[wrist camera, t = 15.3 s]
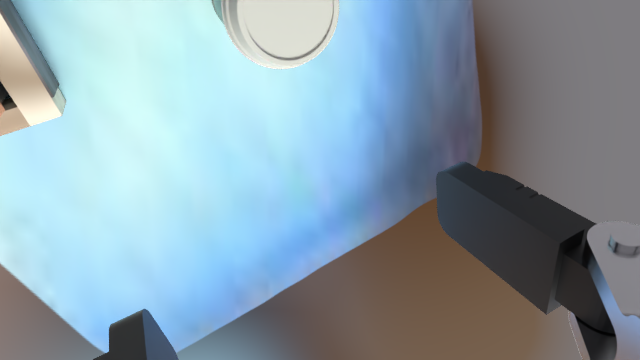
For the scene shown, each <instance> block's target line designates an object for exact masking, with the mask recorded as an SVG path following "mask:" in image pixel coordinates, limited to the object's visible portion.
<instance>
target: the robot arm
mask: <svg viewBox="0 0 640 360" xmlns="http://www.w3.org/2000/svg"><path fill="white" fill-rule="evenodd" d="M436 186H437V210H438V219H439V222H440V224H441V226H442V228H443V230H444V231H445V232H446V233H447V234H448V235H449V236H450V237H451V238H452V239H454V240H455V241H456V242H457V243H459V244H460V245H461V246H462V247H463V248H465V249H466V250H467V251H468V252H470V253H471V254H472V255H473V256H474V257H476V258H477V259H478V260H480V261H481V262H482V263H483V264H484V265H486V266H487V267H488V268H489V269H491V270H492V271H493V272H494V273H496V274H497V275H498V276H499V277H500V278H502V279H503V280H504V281H505V282H507V283H508V284H509V285H510V286H512V287H513V288H514V289H515V290H516V291H518V292H519V293H520V294H521V295H523V296H524V297H525V298H527V299H528V300H529V301H530V302H531V303H533V304H534V305H535V306H536V307H537V308H539V309H540V310H541V311H543V312H544V313H545V314H546V315H547V314H548V313H550V312H551V311H553V310H555V309H556V308H558V307H559V306H561V305H563V306H564V307H565V308H567V309H568V310H569V314H568V318H569V322H570V325H571V328H572V331H573V334H574V337H575V340H576V343H577V346H578V349H579V352H580V355H581V358H582V360H640V226H639V225H636V224H632V223H627V222H621V221H607V222H602V223H599V224H596V223H594V222H592V221H590V220H588V219H586V218H584V217H582V216H581V215H578V214H577V213H575V212H573V211H571V210H569V209H567V208H566V207H564V206H562V205H560V204H558V203H556V202H554V201H553V200H551V199H549V198H547V197H545V196H543V195H539V194H538V192H536V191H534V190H532V189H531V188H529V187H524V185H523V184H521V183H519V182H518V181H516V180H514V179H512V178H510V177H508V176H506V175H502V174H498V173H494V172H491V171H484V172H483V171H481V170H480V169H478V168H476V167H475V166H473V165H471V164H469V163H467V162H460V163H458V164H456V165H454V166H451V167H449V168H447V169H445V170H443V171H441V172H439V173H438V174H437V177H436ZM93 360H178V357H177V355H176V352H175V350H174V349H173V347H172V345H171V344H170V342H169V341H168V339H167V338H166V336H165V335H164V333H163V332H162V330H161V329H160V327H159V326H158V324H157V323H156V321H155V320H154V318H153V317H152V315H151V314H150V313H149V311H148V310H146V309H143V310H141V311H139V312H136V313H134V314H132V315H130V316H128V317H126V318H124V319H121V320H119V321H117V322H115V323H113V324H111V325H110V328H109V352H107V353H105V354H103V355H101V356H99V357H97V358H95V359H93Z"/></svg>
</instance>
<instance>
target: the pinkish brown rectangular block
mask: <svg viewBox="0 0 640 360" xmlns="http://www.w3.org/2000/svg"><path fill="white" fill-rule="evenodd" d="M8 94H9V93H8V92H7V90H6V89H5V87H4V86H3V84H2V83H1V81H0V117H1V115H2V114H3V112H4V111H5V109H4V107H3V106H2V104H1V103H2V102H3V101H4V99H5V98H6V97H7V95H8Z"/></svg>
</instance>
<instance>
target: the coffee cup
mask: <svg viewBox="0 0 640 360" xmlns="http://www.w3.org/2000/svg"><path fill="white" fill-rule="evenodd" d="M212 3H213V7H214V9H215V12H216V14H217V15H218V17H219V18H220V20H221V21H222V22H223V24H224V25H225V28H226V30H227V33H228V35H229V37H230V39H231V40H232V42H233V43H234V45H235V46H236V48H237V49H238V50H239V51H240V52H241V53H242V54H243V55H244V56H245V57H247V58H248V59H249V60H251V61H252V62H254V63H256V64H258V65H261V66H264V67H267V68H273V69H289V68H294V67H297V66H300V65H302V64H304V63H306V62H308V61H310V60H312V59H313V58H315V57H316V56H317V55H319V54H320V53H321V52H322V51H323V50H324V48H325V47H326V46H327V45H328V43H329V41H330V40H331V38H332V36H333V34H334V32H335V29H336V26H337V22H338V16H339V0H212Z"/></svg>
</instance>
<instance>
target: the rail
mask: <svg viewBox="0 0 640 360" xmlns="http://www.w3.org/2000/svg"><path fill="white" fill-rule="evenodd" d="M0 81H1V83H2V84H3V86H4V87H5V89H6V90H7V92H8V93H9V95H10V96H11V98H8V99H4V101H3V102H2V103H1V104H2V106H3V107H4V109H5V111H4V112H3V114H2V115H1V117H0V136H2V135H5V134H8V133H11V132H14V131H17V130H20V129H23V128H26V127H29V126H32V125H36V124H39V123H42V122H45V121H48V120H51V119H54V118H57V117H60V116H62V114H63V111H64V107H65V104H66V100H65V98H64V97H63V95H62V93H61V92H60V90H59V88H58V86H59V83H58V81H57V80H56V78H55V76H54V74H53V73H52V71H51V69H50V68H49V66H48V64H47V62H46V61H45V59H44V57H43V56H42V54H41V52H40V50H39V49H38V47H37V45H36V43H35V42H34V40H33V38H32V37H31V35H30V33H29V31H28V30H27V28H26V26H25V24H24V23H23V21H22V19H21V18H20V16H19V14H18V12H17V11H16V9H15V7H14V5H13V4H12V2H11V0H0Z"/></svg>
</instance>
